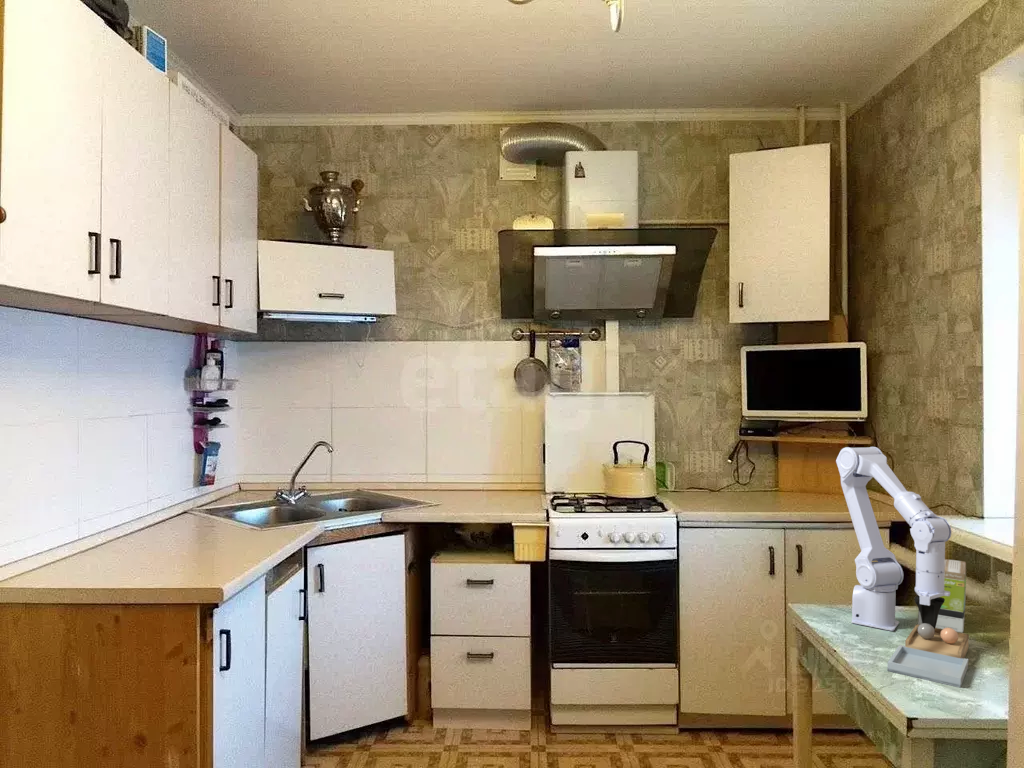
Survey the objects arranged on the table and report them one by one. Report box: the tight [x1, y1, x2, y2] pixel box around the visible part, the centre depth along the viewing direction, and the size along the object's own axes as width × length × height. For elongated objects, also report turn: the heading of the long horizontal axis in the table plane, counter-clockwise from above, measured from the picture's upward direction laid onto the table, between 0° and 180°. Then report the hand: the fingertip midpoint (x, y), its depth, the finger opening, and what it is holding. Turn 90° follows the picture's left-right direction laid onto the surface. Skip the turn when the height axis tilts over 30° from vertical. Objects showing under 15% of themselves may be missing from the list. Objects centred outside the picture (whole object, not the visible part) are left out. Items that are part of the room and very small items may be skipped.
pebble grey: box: [918, 623, 935, 639], centre depth 165 cm, size 3×3×3 cm
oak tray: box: [904, 623, 970, 659], centre depth 163 cm, size 10×14×3 cm
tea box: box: [917, 558, 967, 633], centre depth 185 cm, size 15×10×15 cm, turn 148°
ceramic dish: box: [887, 644, 969, 688], centre depth 153 cm, size 13×13×2 cm
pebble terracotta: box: [940, 628, 958, 644], centre depth 162 cm, size 3×3×3 cm
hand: (929, 629), depth 168 cm, fingers closed
